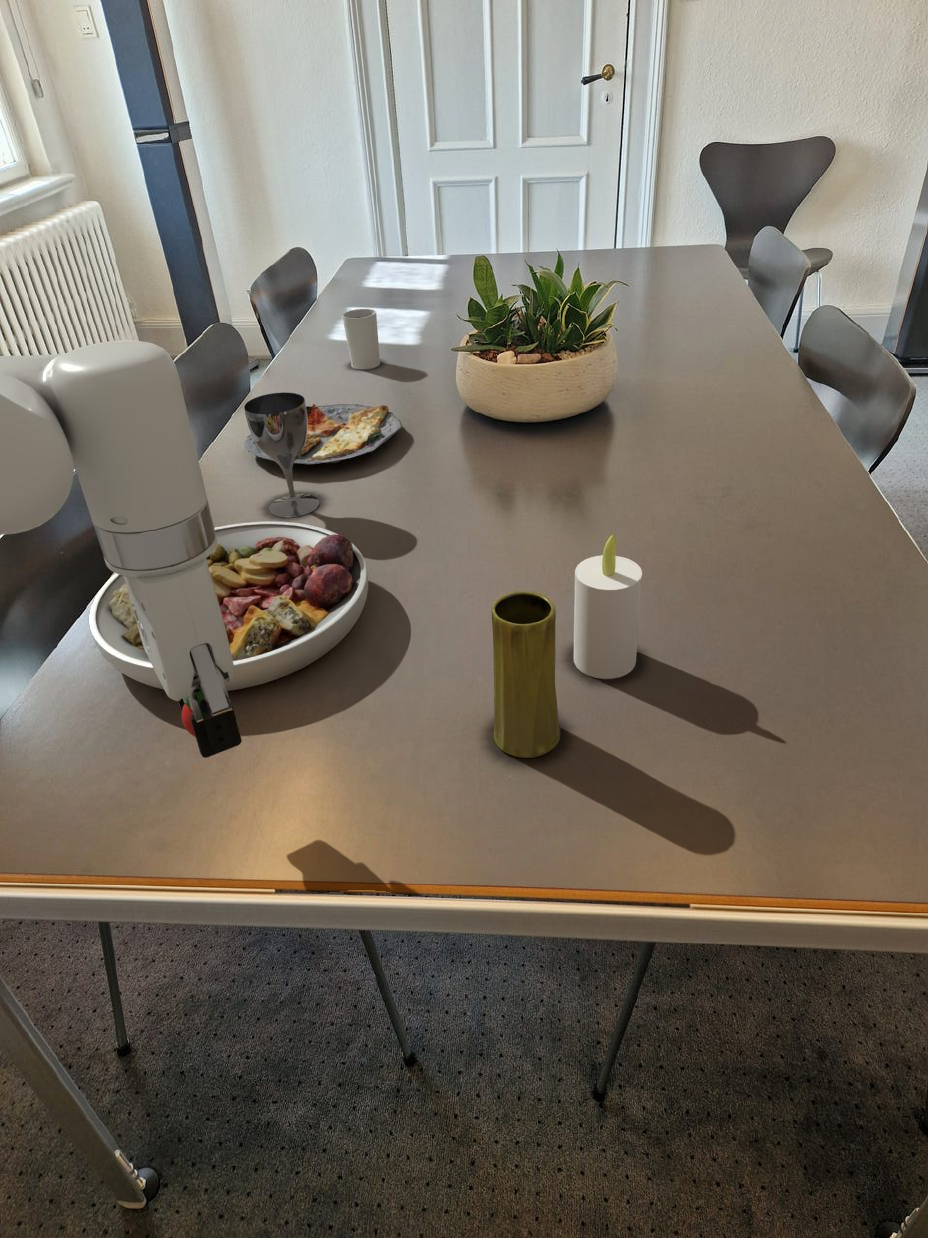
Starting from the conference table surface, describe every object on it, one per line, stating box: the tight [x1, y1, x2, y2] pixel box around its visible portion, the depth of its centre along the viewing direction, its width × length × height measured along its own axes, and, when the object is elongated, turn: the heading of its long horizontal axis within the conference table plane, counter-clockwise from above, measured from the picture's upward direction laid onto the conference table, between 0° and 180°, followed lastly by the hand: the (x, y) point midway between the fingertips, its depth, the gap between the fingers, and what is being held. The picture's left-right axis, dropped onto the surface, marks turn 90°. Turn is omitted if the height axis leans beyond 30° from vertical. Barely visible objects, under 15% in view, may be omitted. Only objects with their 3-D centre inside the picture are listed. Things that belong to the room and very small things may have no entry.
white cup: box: [341, 308, 381, 370], centre depth 167 cm, size 7×7×10 cm
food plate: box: [243, 403, 403, 465], centre depth 137 cm, size 25×23×4 cm
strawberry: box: [181, 691, 234, 738], centre depth 67 cm, size 4×4×4 cm
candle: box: [573, 534, 643, 680], centre depth 83 cm, size 6×6×15 cm
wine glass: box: [243, 392, 321, 518], centre depth 116 cm, size 8×8×15 cm
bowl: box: [88, 521, 369, 692], centre depth 94 cm, size 30×30×8 cm
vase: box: [491, 590, 561, 759], centre depth 74 cm, size 6×6×14 cm
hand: (212, 731), depth 68 cm, fingers closed on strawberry, 3 cm apart
